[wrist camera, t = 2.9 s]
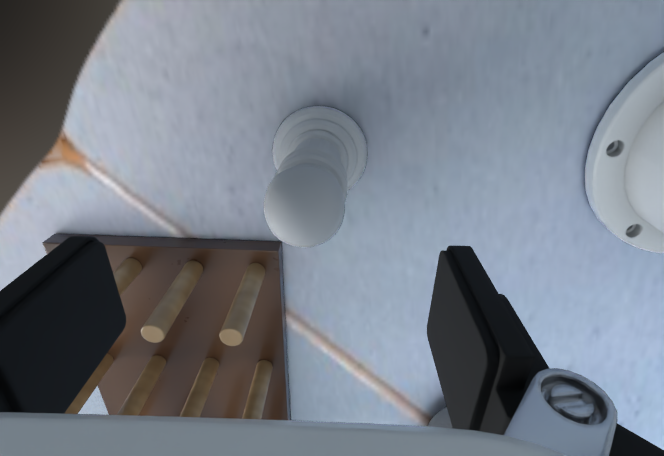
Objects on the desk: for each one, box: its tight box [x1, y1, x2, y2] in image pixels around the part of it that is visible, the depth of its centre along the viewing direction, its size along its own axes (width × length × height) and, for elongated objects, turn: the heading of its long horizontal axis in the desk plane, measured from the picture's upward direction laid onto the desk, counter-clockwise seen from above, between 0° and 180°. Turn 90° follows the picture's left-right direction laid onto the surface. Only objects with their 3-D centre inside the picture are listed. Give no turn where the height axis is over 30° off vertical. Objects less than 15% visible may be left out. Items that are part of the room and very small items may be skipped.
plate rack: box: [43, 234, 290, 420], centre depth 27 cm, size 15×20×7 cm
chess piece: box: [264, 106, 368, 248], centre depth 18 cm, size 5×5×9 cm
